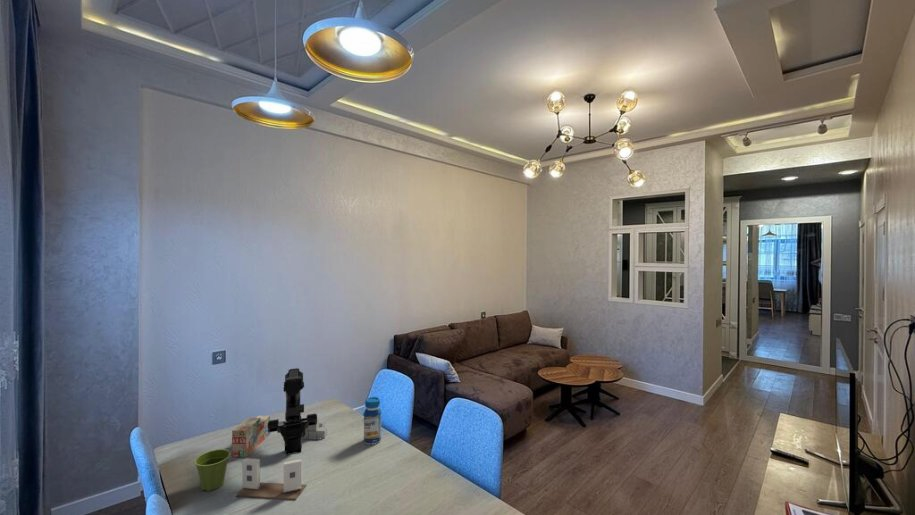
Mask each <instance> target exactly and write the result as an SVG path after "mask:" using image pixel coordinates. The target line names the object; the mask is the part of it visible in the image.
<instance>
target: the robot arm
mask: <svg viewBox="0 0 915 515" xmlns="http://www.w3.org/2000/svg"><path fill="white" fill-rule="evenodd" d="M304 388H305V382H304V373H303V372H302V371H300V368H298V367H296V368H290V369H288V372H287V373H286V374H285V375H284V382H283V392H285V413H284V414H285V415H284V417H285V418H284V419H285V420H284V421H283V420H282V421H280V420H279V419H278V418H277V419H270V421H269V422H268V432H270V433H273V432H277V434H280V435H281V437H282V439H283V441H284V452H285V455H290V454H298V453H301V452H302V448H303V444H302V440H303V439H302V437H304V435H305V429H306V428H308V425H309V426H311V425H316V424H317V419H318V413H317V414H316V413H315V414H309V415H307V414H306V416H307V418H306V417H302V416H301V415H302V413H305V403H302V404H301V390H304Z"/></svg>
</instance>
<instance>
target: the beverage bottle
mask: <svg viewBox="0 0 915 515" xmlns="http://www.w3.org/2000/svg"><path fill="white" fill-rule="evenodd" d="M380 401H381V400H380V398H379V397H376V396H372V397H368V398H366V399H365V403H364V404H365V410H364V412H363V442H364V443H365V444H366V445H370V444H372V445H377V444H379V443H380V442H381V441H382V421H383V420H382V418H383V417H382V410H381V408H380V405H381V402H380ZM378 442H379V443H378ZM376 443H377V444H376Z"/></svg>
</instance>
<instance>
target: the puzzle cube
mask: <svg viewBox="0 0 915 515" xmlns="http://www.w3.org/2000/svg"><path fill="white" fill-rule="evenodd" d="M315 413H316V414H317V415H318V412H316V411H314V412H313V411H311V412H310V411H309V412H308V413H307V414H306V417H305V418H307V415H309V414H315ZM325 421H326V420H325V419H318V418H317V424H316V425H311V426H309V425H308V428H306V429H305V435H304V437H302V439H301V440H305V439H306V440H307V439H309V440H312V439H314V438H315V439H317V440H318V438H319V439H320V438H321V440H323V439H326V438H327V436H328V427H327V426H326V425H325ZM325 426H326V427H325ZM325 437H326V438H325ZM315 439H314V440H315Z"/></svg>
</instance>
